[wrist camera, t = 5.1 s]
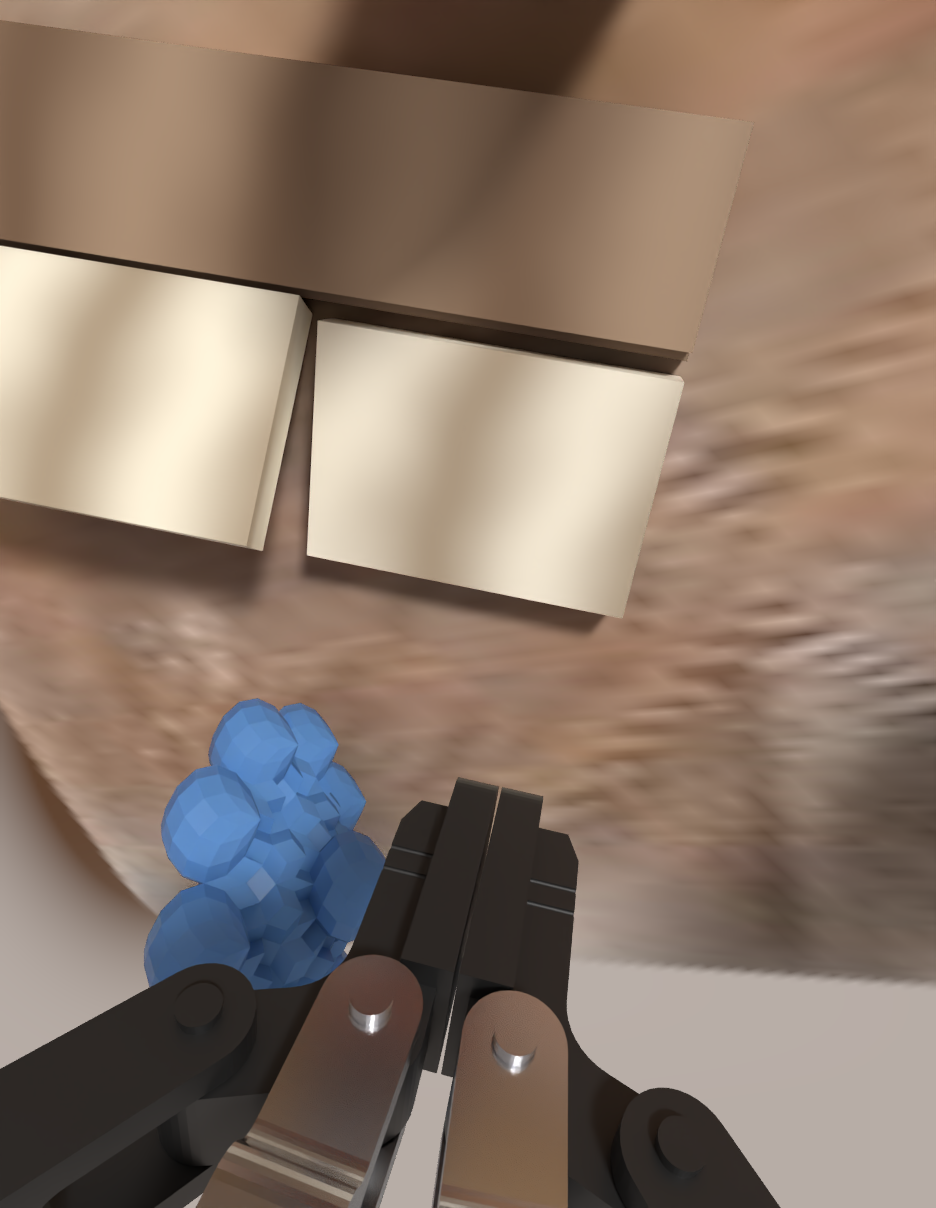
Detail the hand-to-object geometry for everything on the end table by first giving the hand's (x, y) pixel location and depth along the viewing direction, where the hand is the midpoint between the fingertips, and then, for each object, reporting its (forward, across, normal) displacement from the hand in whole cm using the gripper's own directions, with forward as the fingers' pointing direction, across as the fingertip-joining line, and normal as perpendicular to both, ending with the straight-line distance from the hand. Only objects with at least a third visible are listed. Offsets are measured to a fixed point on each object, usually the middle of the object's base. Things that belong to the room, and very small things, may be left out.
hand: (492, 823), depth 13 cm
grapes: (+12, +6, +11) cm, 17 cm away
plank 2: (+12, +3, -2) cm, 12 cm away
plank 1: (+10, +13, -3) cm, 17 cm away
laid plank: (+12, +8, -9) cm, 17 cm away
